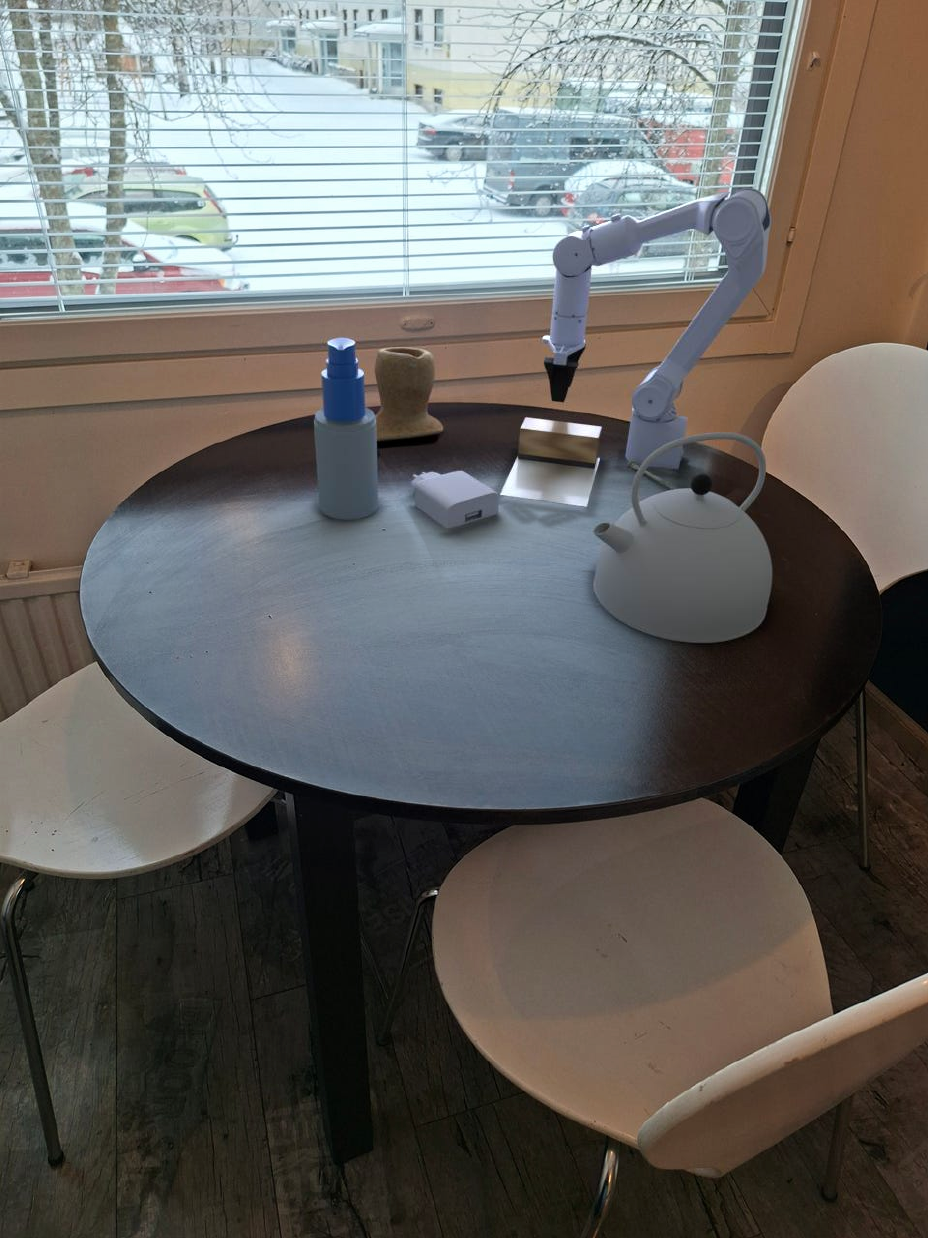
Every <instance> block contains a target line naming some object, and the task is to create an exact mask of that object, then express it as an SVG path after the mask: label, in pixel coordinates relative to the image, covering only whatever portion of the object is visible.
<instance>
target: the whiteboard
mask: <svg viewBox="0 0 928 1238" xmlns="http://www.w3.org/2000/svg"><path fill="white" fill-rule="evenodd" d="M600 460H601V458H600V457H598V458H597V462H596V466H595V469H592V468H584V467H576V466H569V465H561V464H554V463H546V462H538V461H531V460H523V459H518V456H517V457H516V459H515V461H514V463H513V466H512V467H511V470H510V472H509V474H508V476H507V478H506V480H505V482H504V485H503V487H502V489H501V491H500V493H499V496H503V497H512V498H517V499H519V498H520V499H525V500H526V499H527V500H533V501H539V502H547V503H554V504H561V505H567V506H568V505H570V506H576V507H583V508H588V506H589V505H588V504H589V501H590V497H591V493H592V490H593V486H594V483H595V478H596V474H597V471H598V467H599V464H600Z"/></svg>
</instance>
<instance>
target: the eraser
mask: <svg viewBox="0 0 928 1238" xmlns="http://www.w3.org/2000/svg"><path fill="white" fill-rule="evenodd" d="M602 429H603V427H602V426H599V425H590V424H583V423H574V422H568V421H567V422H566V421H558V420H552V419H551V420H550V419H544V418H543V419H542V418H536V417H535V418H534V417H526V416H525V417H524V419H523V421H522V423H521V425H520V428H519V438H518V450H517V457H518V459H523V460H531V461H538V462H546V463H554V464H561V465H569V466H576V467H584V468H592V469H595V466H596V462H597V458H599V453H600V452H599V451H600V445H601V436H602Z"/></svg>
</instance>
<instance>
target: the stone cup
mask: <svg viewBox="0 0 928 1238" xmlns="http://www.w3.org/2000/svg"><path fill="white" fill-rule="evenodd" d="M435 375H436V368H435V358H434V355H433V354H432V353H431V352H430V351H428V350H425V349H422V348H417V347H409V346H396V347H395V346H394V347H385V348H380V349H379V350H378V351H377V353H376V357H375V361H374V376H375V381H376V385H377V390H378V395H379V401H380V409H379V411H378V412H377V413H376V414H375V419H376V436H377V442H387V441H388V442H389V441H396V440H398V441H399V440H407V439H416V438H423V437H428V436H435V435H438V434H441V433H442V432H443V431H444V426H443V424H442V422H440V421H439V420H438V419H437V418H436V417H434V416H432V415H431V414H429V413H428V406H429V400H430V396H431V394H432V391H433V387H434V383H435Z"/></svg>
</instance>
